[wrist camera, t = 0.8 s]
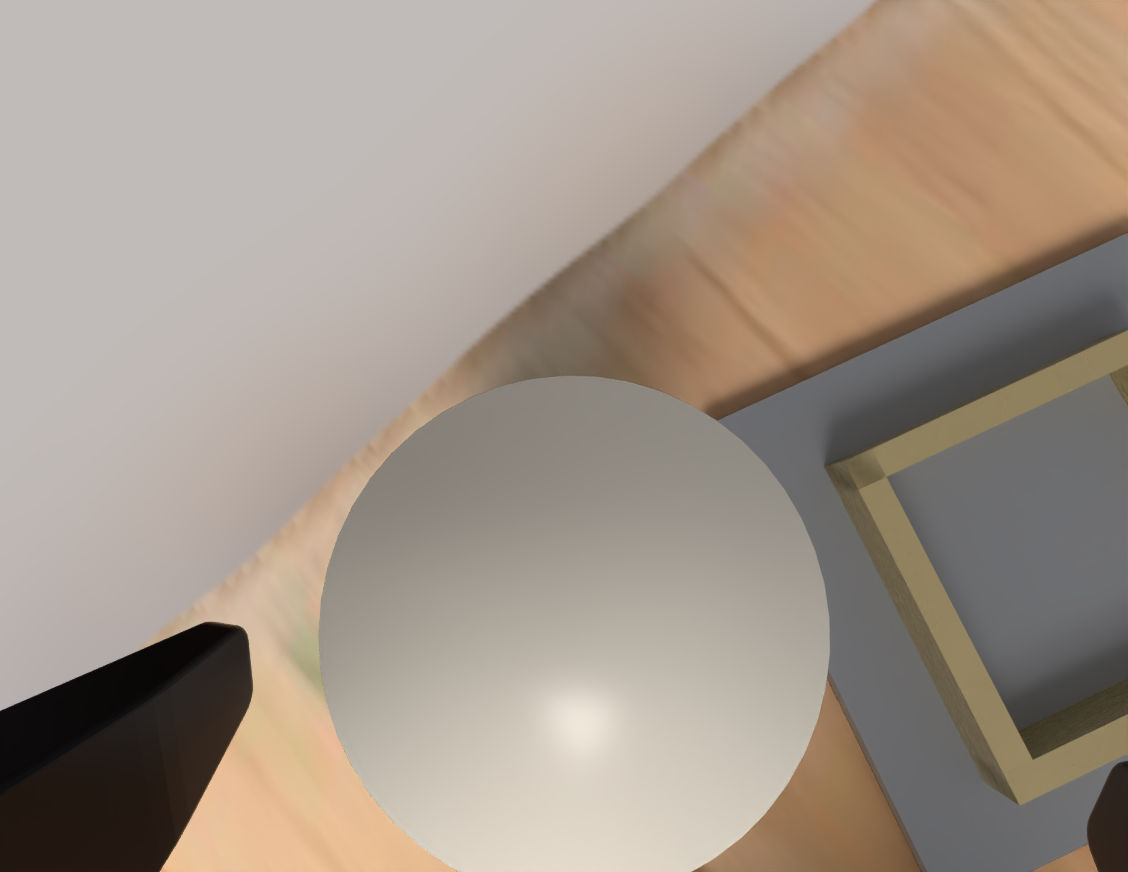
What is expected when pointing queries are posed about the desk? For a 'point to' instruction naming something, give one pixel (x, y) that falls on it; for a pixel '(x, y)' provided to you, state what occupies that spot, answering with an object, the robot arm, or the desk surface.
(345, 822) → the desk surface
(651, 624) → the lidded cream canister
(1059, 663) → the collar base
